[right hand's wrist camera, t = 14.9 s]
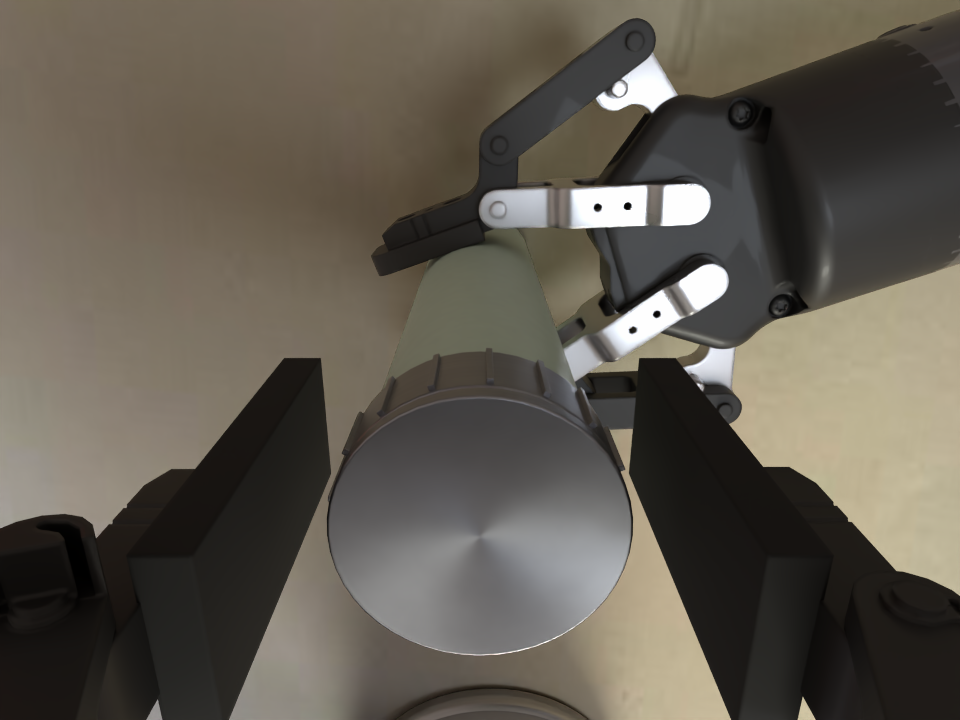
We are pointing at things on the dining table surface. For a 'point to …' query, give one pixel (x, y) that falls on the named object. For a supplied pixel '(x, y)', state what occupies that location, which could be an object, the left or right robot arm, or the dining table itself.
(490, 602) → the lid
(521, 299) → the pale green bottle
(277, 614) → the dining table surface
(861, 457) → the dining table surface
